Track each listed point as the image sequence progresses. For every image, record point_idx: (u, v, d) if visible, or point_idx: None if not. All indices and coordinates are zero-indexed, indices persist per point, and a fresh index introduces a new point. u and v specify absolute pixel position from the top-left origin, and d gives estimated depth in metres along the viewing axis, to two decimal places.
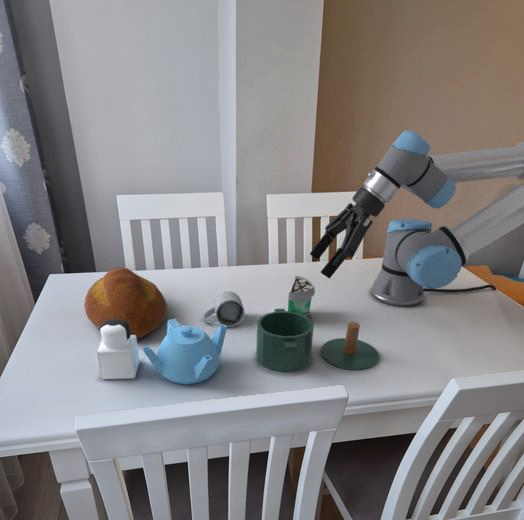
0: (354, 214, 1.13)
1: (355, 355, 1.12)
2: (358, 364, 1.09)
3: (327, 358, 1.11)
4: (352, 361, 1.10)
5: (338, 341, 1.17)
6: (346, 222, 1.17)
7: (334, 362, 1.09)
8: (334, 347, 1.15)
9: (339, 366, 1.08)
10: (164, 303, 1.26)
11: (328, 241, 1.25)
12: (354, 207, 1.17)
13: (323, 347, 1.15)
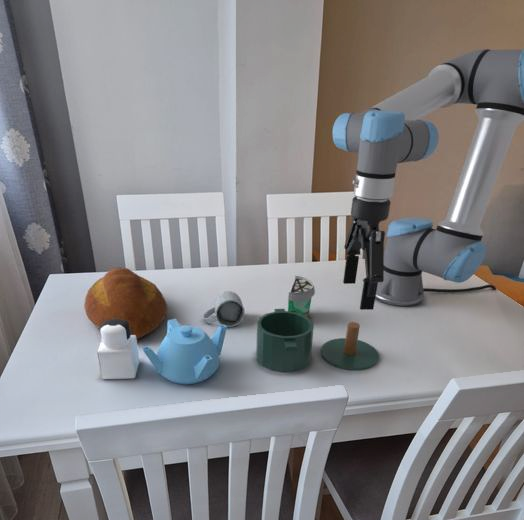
0: (362, 231, 0.96)
1: (355, 355, 1.12)
2: (358, 364, 1.09)
3: (327, 358, 1.11)
4: (352, 361, 1.10)
5: (338, 341, 1.17)
6: (359, 240, 0.99)
7: (334, 362, 1.09)
8: (334, 347, 1.15)
9: (339, 366, 1.08)
10: (164, 303, 1.26)
11: (354, 260, 1.08)
12: None
13: (323, 347, 1.15)
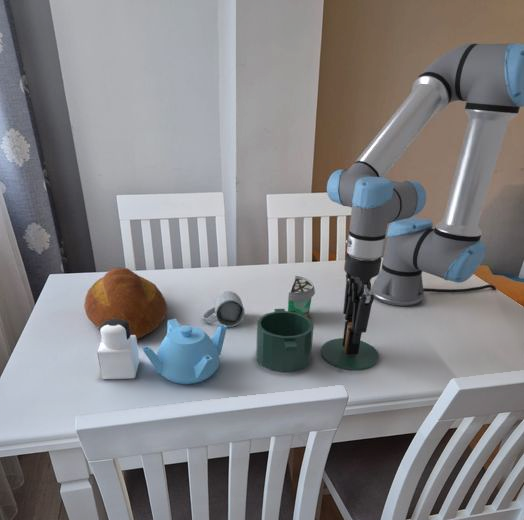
0: (354, 287, 1.02)
1: (355, 355, 1.12)
2: (358, 364, 1.09)
3: (327, 358, 1.11)
4: (352, 361, 1.10)
5: (338, 341, 1.17)
6: (352, 292, 1.06)
7: (334, 362, 1.09)
8: (334, 347, 1.15)
9: (339, 366, 1.08)
10: (164, 303, 1.26)
11: None
12: None
13: (323, 347, 1.15)
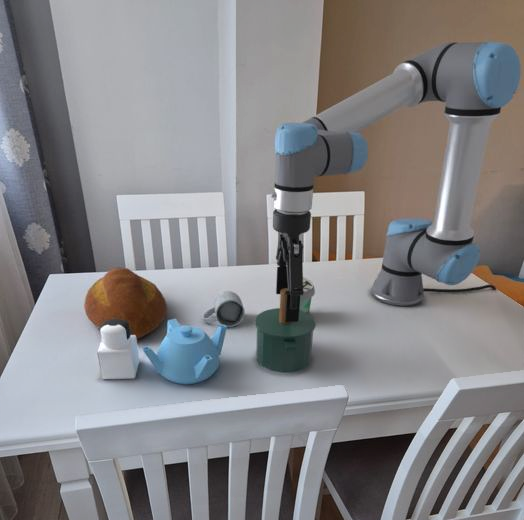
0: (283, 243, 0.95)
1: (290, 324, 1.06)
2: (292, 333, 1.02)
3: (260, 327, 1.04)
4: (286, 329, 1.03)
5: (275, 311, 1.11)
6: None
7: (266, 330, 1.03)
8: (270, 316, 1.09)
9: (271, 334, 1.02)
10: (164, 303, 1.26)
11: (285, 271, 1.07)
12: None
13: (258, 316, 1.08)
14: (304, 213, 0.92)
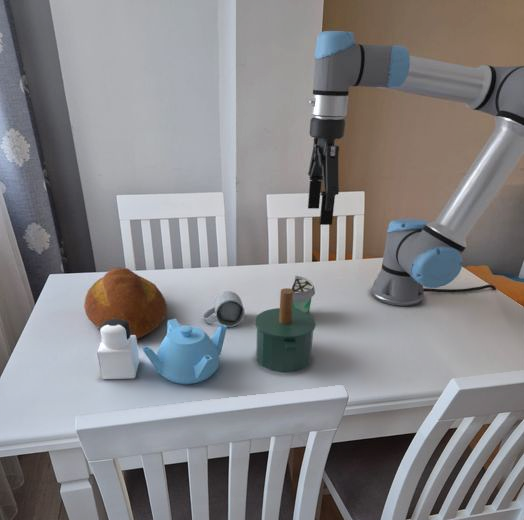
0: (319, 149, 1.04)
1: (290, 324, 1.06)
2: (292, 333, 1.02)
3: (260, 327, 1.04)
4: (286, 329, 1.03)
5: (275, 311, 1.11)
6: (319, 160, 1.07)
7: (266, 330, 1.03)
8: (270, 316, 1.09)
9: (271, 334, 1.02)
10: (164, 303, 1.26)
11: (317, 185, 1.16)
12: (318, 140, 1.07)
13: (258, 316, 1.08)
14: (340, 118, 1.00)
